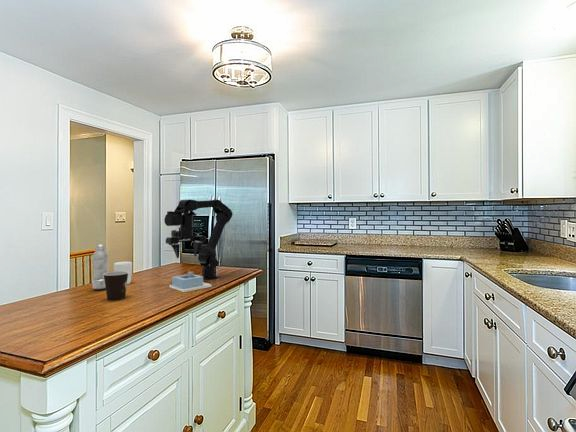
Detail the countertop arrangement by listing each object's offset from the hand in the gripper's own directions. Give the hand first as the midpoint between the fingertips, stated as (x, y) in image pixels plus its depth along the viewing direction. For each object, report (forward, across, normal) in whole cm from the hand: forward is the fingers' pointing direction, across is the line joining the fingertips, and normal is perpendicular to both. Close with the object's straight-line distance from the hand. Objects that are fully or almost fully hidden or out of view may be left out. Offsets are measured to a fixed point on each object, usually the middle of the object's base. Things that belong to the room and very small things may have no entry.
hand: (186, 257), depth 154 cm
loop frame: (+12, +4, +9) cm, 15 cm away
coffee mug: (+13, +32, +4) cm, 35 cm away
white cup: (+13, +22, -21) cm, 33 cm away
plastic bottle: (+13, +33, -16) cm, 39 cm away
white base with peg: (+12, +3, +9) cm, 16 cm away
